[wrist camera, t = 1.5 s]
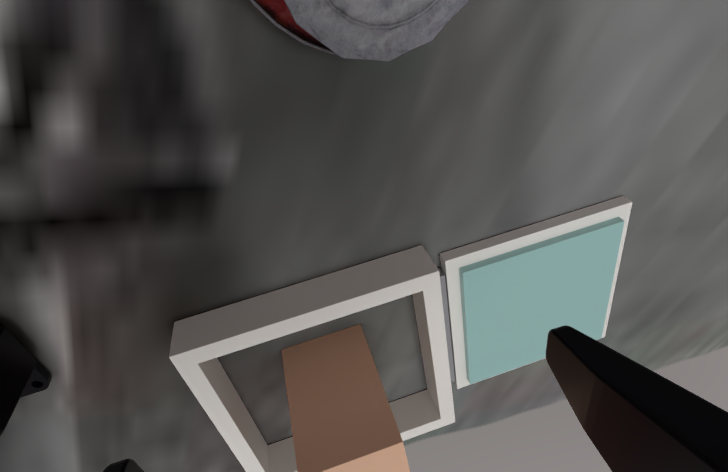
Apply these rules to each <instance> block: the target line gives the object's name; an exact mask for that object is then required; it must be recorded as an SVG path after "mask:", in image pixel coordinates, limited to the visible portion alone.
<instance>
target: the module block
mask: <svg viewBox="0 0 728 472" xmlns="http://www.w3.org/2000/svg"><path fill="white" fill-rule="evenodd" d="M281 352H282V359H283V367H284V375H285V382H286V390H287V397H288V405H289V412H290V420H291V427H292V435H293V442H294V450H295V457H296V465H297V472H410V469H409V465H408V461H407V457H406V453H405V448H404V444H403V441H402V438H401V435H400V432H399V430H398V427H397V424H396V421H395V418H394V416H393V413H392V410H391V407H390V405H389V402H388V399H387V396H386V394H385V391H384V388H383V385H382V382H381V380H380V377H379V374H378V371H377V369H376V366H375V363H374V360H373V358H372V355H371V352H370V349H369V346H368V344H367V341H366V338H365V335H364V333H363V330H362V327H361V324H359V325H355V326H352V327H349V328H346V329H343V330H340V331H337V332H334V333H331V334H328V335H325V336H322V337H319V338H316V339H313V340H310V341H307V342H304V343H300V344H297V345H294V346H291V347H288V348H285V349H282V350H281Z"/></svg>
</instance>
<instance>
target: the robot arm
mask: <svg viewBox="0 0 728 472" xmlns="http://www.w3.org/2000/svg"><path fill="white" fill-rule="evenodd" d="M546 359H547V362H548V364H549V366H550V368H551V370H552V372H553V374H554V376H555V377H556V379H557V381H558V383H559V385H560V387H561V389H562V390H563V392H564V394H565V396H566V398H567V400H568V401H569V403H570V405H571V407H572V409H573V411H574V413H575V414H576V416H577V418H578V420H579V422H580V423H581V425H582V427H583V429H584V430H585V432H586V433H587V435H588V436H589V438H590V439H591V441H592V442H593V444H594V445H595V447H596V448H597V450H598V451H599V453H600V454H601V456H602V457H603V459H604V460H605V461H606V463H607V464H608V466H609V467H610V469H611V470H612V472H728V412H726V411H724V410H722V409H721V408H719V407H717V406H715V405H713V404H712V403H710V402H708V401H706V400H704V399H702V398H701V397H699V396H697V395H695V394H693V393H692V392H690V391H688V390H686V389H684V388H682V387H681V386H679V385H677V384H675V383H673V382H671V381H670V380H668V379H666V378H664V377H662V376H660V375H659V374H657V373H655V372H653V371H651V370H649V369H648V368H646V367H644V366H642V365H640V364H638V363H637V362H635V361H633V360H631V359H629V358H627V357H626V356H624V355H622V354H620V353H618V352H616V351H615V350H613V349H611V348H609V347H607V346H606V345H604V344H602V343H600V342H598V341H596V340H595V339H593V338H591V337H589V336H587V335H585V334H584V333H582V332H580V331H578V330H576V329H574V328H573V327H570V326H566V325H565V326H561V327H557V328H554V329H551V330H550V331H549V332H548V338H547V346H546ZM51 378H52V377H51V376H50V374H49V373H48V372H47V371H46V370H45V369H44V368H43V367H42V366H41V365H40V364H39V363H38V362H37V361H36V360H35V359H34V358H33V356H32V355H31V354H30V353H29V352H28V351H27V350H26V349H25V348H24V347H23V346H22V345H21V344H20V343H19V342H18V341H17V340H16V339H15V338H14V336H13V335H12V334H11V333H10V332H9V331H8V330H7V329H6V328H5V327H4V326H3V325H2V324H1V323H0V436H1V435H2V434H3V432H4V430H5V428H6V426H7V424H8V421H9V419H10V417H11V415H12V413H13V411H14V409H15V407H16V405H17V403H18V401H19V399H20V397H23V396H27V395H30V394H33V393H36V392H39V391H42V390H45V389H47V387H48V386H49V384H50V382H51ZM40 381H41V382H40ZM103 472H144V471H143V470H142V469H141V468H140V467H139V466H138V465H137V463H136V462H135V461H134V460H132V459H125V460H122V461H119V462H115V463H112V464H110V465H109V466H108V467H107V468H106V469H105V470H104V471H103Z"/></svg>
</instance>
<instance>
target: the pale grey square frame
mask: <svg viewBox="0 0 728 472" xmlns="http://www.w3.org/2000/svg"><path fill="white" fill-rule="evenodd" d="M408 295H412V297H413V303H414V309H415V315H416V322H417V328H418V334H419V341H420V347H421V353H422V359H423V366H424V372H425V378H426V384H427V390H424V391H421V392H418V393H415V394H412V395H410V396H407V397H404V398H401V399H398V400H395V401H392V402H390V403H389V405H390V407H391V410H392V413H393V416H394V418H395V421H396V424H397V427H398V430H399V432H400V435H401V438H402V441H404V440H407V439H410V438H413V437H415V436H418V435H421V434H424V433H426V432H429V431H432V430H435V429H437V428H440V427H443V426H446V425H448V424H451V423H454V422H455V415H454V406H453V397H452V387H451V378H450V368H449V359H448V349H447V340H446V331H445V321H444V312H443V302H442V293H441V283H440V274H439V270H438V268H437V267H436V265H435V264H434V262H433V261H432V259H431V258H430V256H429V255H428V253H427V252H426V250H425V249H424V248H423V246H422V245H420V246H417V247H413V248H410V249H407V250H404V251H401V252H397V253H394V254H391V255H388V256H384V257H381V258H378V259H375V260H372V261H368V262H365V263H362V264H359V265H356V266H352V267H349V268H346V269H343V270H339V271H336V272H333V273H330V274H327V275H323V276H320V277H317V278H314V279H311V280H307V281H304V282H301V283H298V284H294V285H291V286H288V287H285V288H282V289H278V290H275V291H272V292H269V293H266V294H262V295H259V296H256V297H253V298H250V299H246V300H243V301H240V302H237V303H233V304H230V305H227V306H224V307H221V308H217V309H214V310H211V311H208V312H205V313H201V314H198V315H195V316H192V317H188V318H185V319H182V320H179V321H176V322H174V327H173V334H172V340H171V346H170V353H169V358H170V360H171V361H172V363H173V364H174V366H175V367H176V369H177V370H178V372H179V373H180V375H181V376H182V377H183V379H184V380H185V382H186V383H187V385H188V386H189V388H190V389H191V391H192V392H193V394H194V395H195V397H196V398H197V400H198V401H199V403H200V404H201V406H202V407H203V409H204V410H205V412H206V413H207V415H208V416H209V417H210V419H211V420H212V422H213V423H214V425H215V426H216V428H217V429H218V431H219V432H220V434H221V435H222V437H223V438H224V440H225V441H226V443H227V444H228V446H229V447H230V449H231V450H232V452H233V453H234V455H235V456H236V458H237V459H238V460H239V462H240V463H241V465H242V466H243V468H244V469H245V471H246V472H297V465H296V457H295V450H294V442H293V437H290V438H287V439H284V440H281V441H278V442H276V443H273V444H270V445H267V443H266V442H265V440H264V438H263V436H262V435H261V433H260V431H259V429H258V428H257V426H256V424H255V422H254V421H253V419H252V417H251V416H250V414H249V412H248V410H247V409H246V407H245V405H244V403H243V402H242V400H241V398H240V396H239V395H238V393H237V391H236V390H235V388H234V386H233V384H232V383H231V381H230V379H229V377H228V376H227V374H226V372H225V370H224V369H223V367H222V365H221V364H220V362H219V360H218V358H217V357H220V356H223V355H226V354H229V353H232V352H235V351H239V350H242V349H245V348H248V347H251V346H254V345H257V344H260V343H263V342H266V341H269V340H273V339H276V338H279V337H282V336H285V335H288V334H291V333H294V332H297V331H300V330H303V329H307V328H310V327H313V326H316V325H319V324H322V323H325V322H328V321H331V320H334V319H337V318H340V317H344V316H347V315H350V314H353V313H356V312H359V311H362V310H365V309H368V308H371V307H374V306H378V305H381V304H384V303H387V302H390V301H393V300H396V299H399V298H402V297H405V296H408Z"/></svg>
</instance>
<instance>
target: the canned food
mask: <svg viewBox="0 0 728 472" xmlns="http://www.w3.org/2000/svg"><path fill="white" fill-rule="evenodd" d="M468 1H469V0H250V2H251V3H252V4H253V5H254V6H255V7H256V8H257V9H258V10H259V11H260V12H261V13H262V14H263V15H264V16H265V17H266V18H268V19H269V20H270V21H271V22H272V23H273V24H274V25H275V26H276V27H278V28H279V29H281V30H282V31H284V32H285V33H287V34H288V35H290V36H291V37H293V38H294V39H296V40H297V41H299V42H300V43H303V44H305V45H308V46H310V47H313V48H315V49H318V50H320V51H323V52H325V53H329V54H334V55H339V56H340V57H341V58H344V59H367V60H378V61H388V62H389V61H391V60H393V59H395V58H397V57H399V56H401V55H402V54H404V53H406V52H408V51H410V50H412V49H415V48H417V47H419V46H422V45H424V44H426V43H429V42H431V41H432V40H433V39H434V38H435V36H436V35H437V34H438V33H439V32H440V30H441V29H442V28H443V27H444V26H445V25H446V23H448V22H449V21H450V20H451V19H452V18H453V16H454V15H455V14H456V13H457V12H458V11H459V10H460V9H461V8H462V7H463V6H464V5H465V4H466V3H467V2H468Z"/></svg>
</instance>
